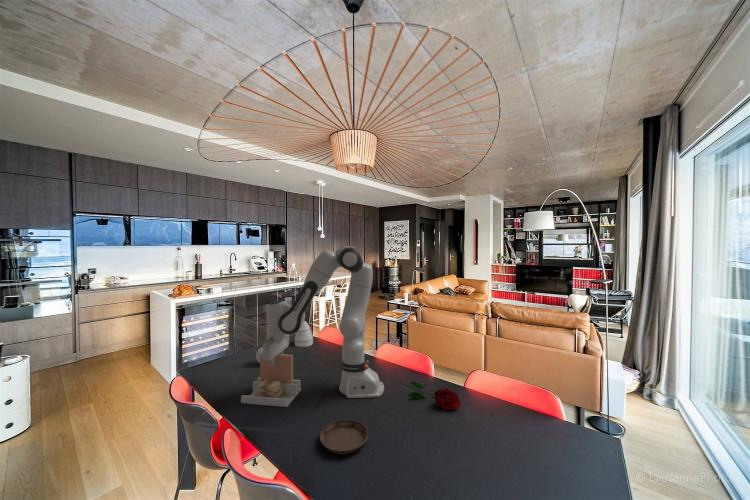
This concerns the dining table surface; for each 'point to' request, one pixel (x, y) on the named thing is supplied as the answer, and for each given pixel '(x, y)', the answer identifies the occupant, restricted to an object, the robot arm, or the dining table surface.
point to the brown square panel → (277, 369)
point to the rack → (290, 394)
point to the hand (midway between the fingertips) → (276, 362)
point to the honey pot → (304, 336)
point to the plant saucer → (343, 436)
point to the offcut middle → (270, 393)
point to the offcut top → (269, 385)
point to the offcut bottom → (280, 395)
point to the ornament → (259, 353)
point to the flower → (439, 397)
